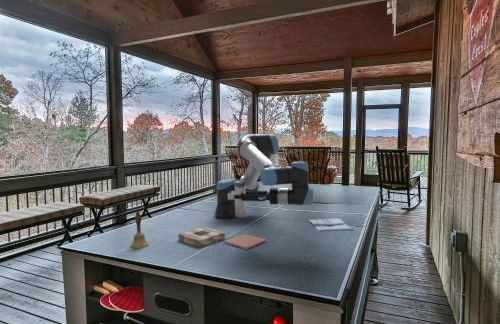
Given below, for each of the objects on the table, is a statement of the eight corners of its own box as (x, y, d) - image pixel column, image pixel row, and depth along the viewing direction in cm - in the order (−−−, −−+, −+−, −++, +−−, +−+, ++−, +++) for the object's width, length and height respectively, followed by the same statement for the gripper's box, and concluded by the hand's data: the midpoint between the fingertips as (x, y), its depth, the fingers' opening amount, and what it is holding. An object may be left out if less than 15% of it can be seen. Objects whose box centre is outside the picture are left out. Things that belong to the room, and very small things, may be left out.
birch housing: (203, 232, 159) (203, 226, 159) (224, 238, 149) (224, 232, 149) (178, 240, 148) (178, 234, 147) (199, 247, 137) (199, 240, 137)
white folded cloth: (340, 221, 178) (340, 217, 178) (353, 231, 158) (353, 227, 158) (308, 222, 177) (308, 218, 177) (317, 232, 157) (317, 228, 157)
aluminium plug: (240, 213, 146) (239, 180, 145) (250, 215, 142) (249, 181, 141) (231, 215, 141) (230, 182, 140) (241, 217, 137) (240, 183, 136)
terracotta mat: (244, 235, 152) (244, 233, 152) (266, 241, 143) (266, 239, 143) (224, 243, 142) (224, 241, 142) (246, 249, 133) (246, 247, 132)
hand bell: (129, 249, 136) (127, 214, 135) (131, 243, 144) (129, 210, 143) (148, 247, 138) (147, 213, 137) (149, 241, 146) (148, 209, 145)
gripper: (276, 208, 129) (224, 207, 133) (281, 200, 146) (234, 199, 151) (276, 191, 128) (223, 190, 133) (280, 185, 146) (234, 184, 151)
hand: (229, 195), depth 142 cm, fingers closed on aluminium plug, 5 cm apart
